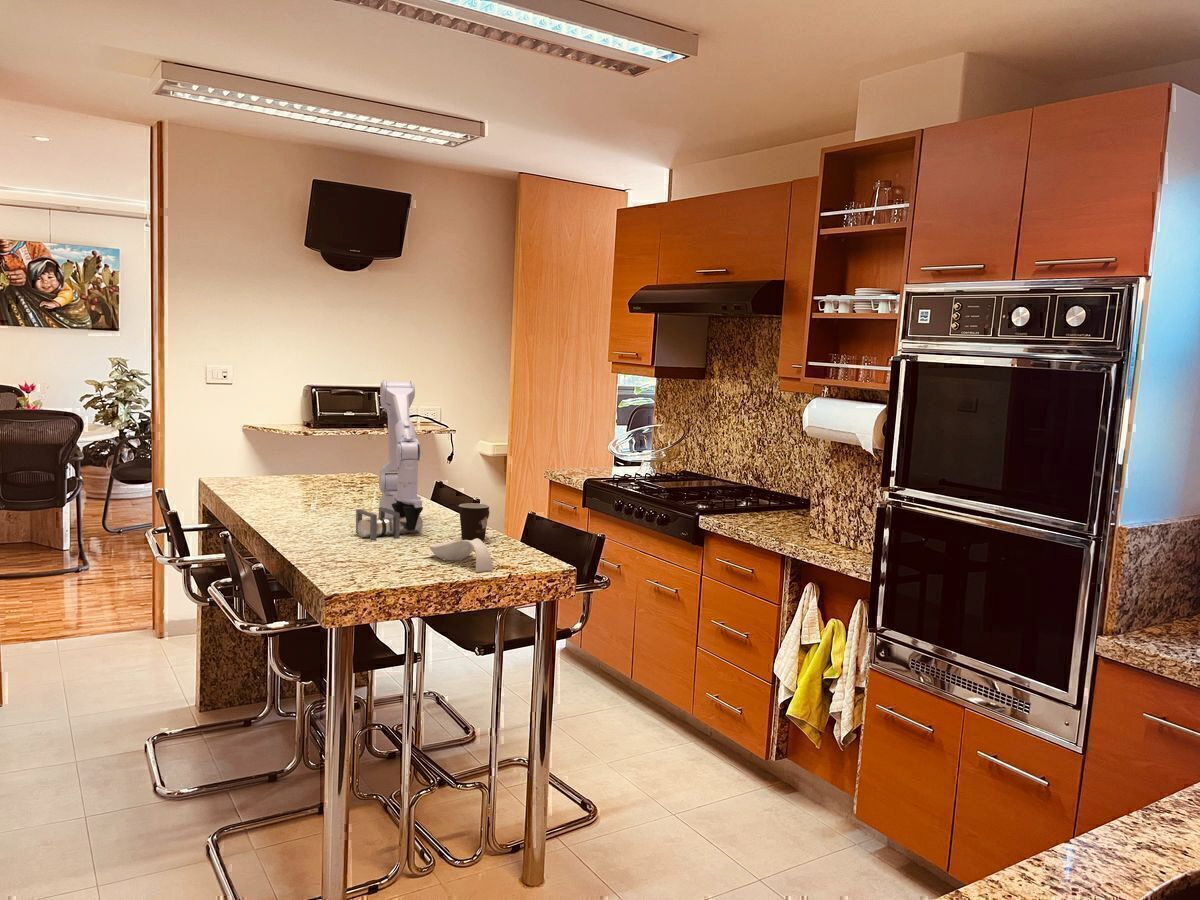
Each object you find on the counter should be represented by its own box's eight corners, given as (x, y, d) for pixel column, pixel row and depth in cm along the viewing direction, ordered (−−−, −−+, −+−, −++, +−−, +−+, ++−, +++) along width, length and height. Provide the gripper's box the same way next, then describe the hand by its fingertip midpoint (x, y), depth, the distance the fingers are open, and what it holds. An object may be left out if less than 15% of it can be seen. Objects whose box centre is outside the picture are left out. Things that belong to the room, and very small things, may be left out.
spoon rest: (421, 556, 235) (422, 529, 234) (461, 552, 242) (462, 526, 241) (464, 575, 216) (465, 546, 215) (507, 570, 223) (507, 541, 222)
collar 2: (378, 532, 264) (378, 507, 263) (382, 531, 264) (382, 507, 264) (395, 538, 255) (395, 513, 255) (399, 538, 256) (399, 512, 255)
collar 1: (355, 534, 259) (356, 509, 259) (359, 533, 260) (360, 508, 259) (372, 540, 251) (372, 515, 250) (376, 540, 252) (376, 514, 251)
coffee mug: (468, 544, 251) (469, 509, 250) (452, 539, 258) (453, 504, 257) (503, 540, 258) (504, 506, 257) (486, 535, 265) (487, 501, 264)
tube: (364, 539, 253) (365, 522, 252) (357, 535, 257) (358, 518, 256) (422, 533, 264) (423, 517, 263) (414, 530, 268) (415, 513, 267)
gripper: (431, 485, 259) (430, 531, 260) (408, 478, 270) (407, 523, 271) (409, 486, 255) (408, 533, 256) (386, 480, 266) (386, 525, 267)
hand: (406, 528), depth 263 cm, fingers closed on tube, 5 cm apart
